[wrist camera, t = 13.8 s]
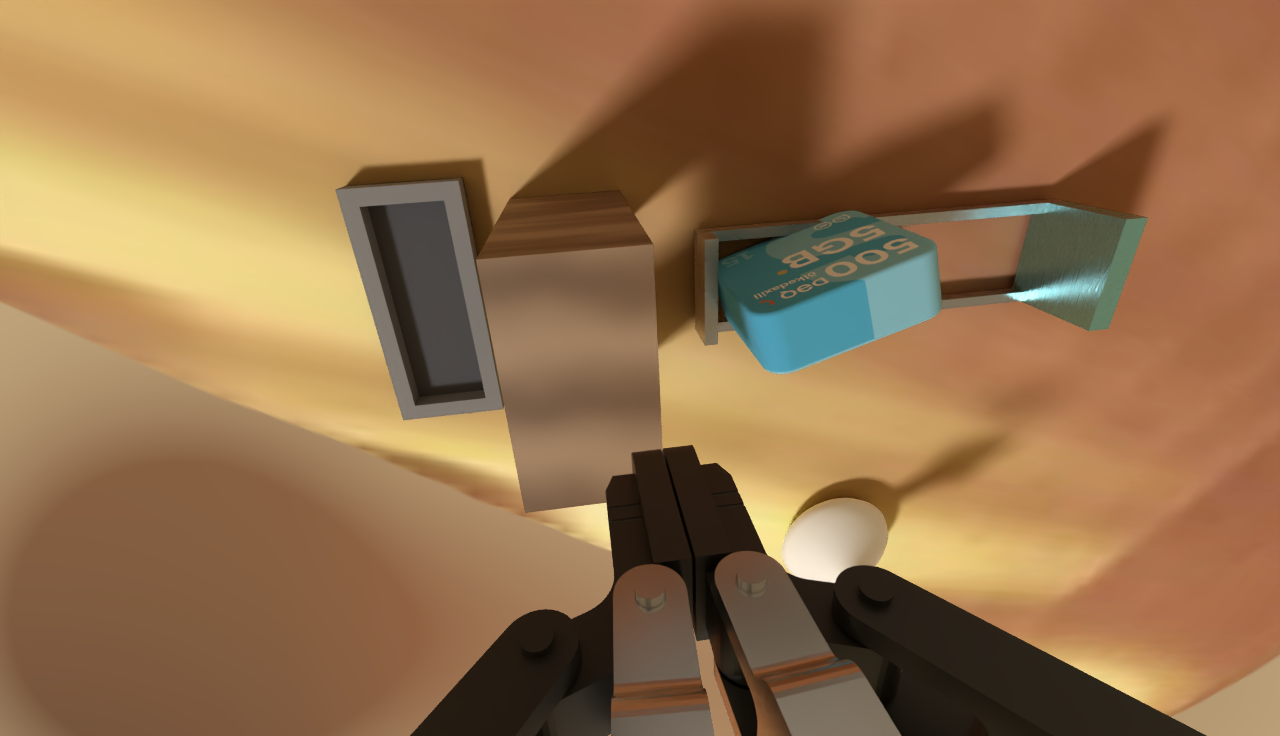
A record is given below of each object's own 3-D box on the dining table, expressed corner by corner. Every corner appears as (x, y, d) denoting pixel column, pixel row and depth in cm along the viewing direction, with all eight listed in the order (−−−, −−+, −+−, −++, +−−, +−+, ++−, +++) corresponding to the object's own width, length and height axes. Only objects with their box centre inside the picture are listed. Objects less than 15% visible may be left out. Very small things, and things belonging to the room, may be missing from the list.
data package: (850, 206, 42) (949, 244, 32) (858, 258, 44) (954, 311, 34) (705, 263, 43) (755, 320, 32) (721, 313, 45) (772, 382, 34)
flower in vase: (896, 496, 57) (1109, 748, 35) (850, 575, 62) (1012, 842, 39) (786, 478, 54) (942, 740, 32) (746, 562, 59) (858, 843, 36)
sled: (694, 229, 41) (721, 255, 34) (1053, 198, 44) (1148, 217, 37) (695, 328, 45) (719, 370, 38) (1026, 294, 48) (1108, 328, 41)
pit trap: (345, 186, 38) (335, 189, 36) (462, 177, 38) (458, 180, 37) (409, 409, 46) (403, 420, 44) (505, 398, 46) (503, 409, 45)
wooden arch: (509, 199, 39) (475, 259, 24) (619, 190, 40) (653, 244, 25) (537, 377, 46) (525, 512, 31) (631, 367, 47) (664, 495, 31)
